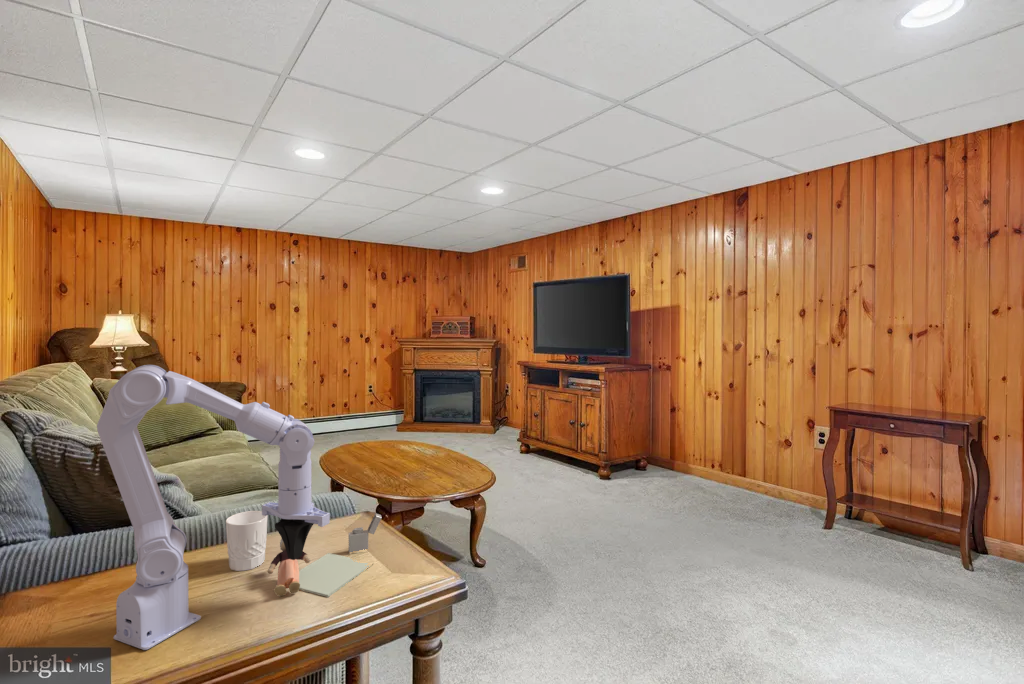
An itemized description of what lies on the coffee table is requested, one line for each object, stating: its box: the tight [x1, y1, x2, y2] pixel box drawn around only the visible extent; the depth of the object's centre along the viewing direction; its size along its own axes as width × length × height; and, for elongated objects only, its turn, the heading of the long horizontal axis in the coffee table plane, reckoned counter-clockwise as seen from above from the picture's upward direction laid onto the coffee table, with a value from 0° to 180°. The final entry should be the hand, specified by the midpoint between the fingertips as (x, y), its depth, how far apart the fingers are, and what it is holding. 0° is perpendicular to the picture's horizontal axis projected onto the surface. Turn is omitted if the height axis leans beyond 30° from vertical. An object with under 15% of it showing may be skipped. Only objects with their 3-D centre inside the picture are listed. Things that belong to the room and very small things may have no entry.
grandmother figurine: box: [267, 538, 311, 597], centre depth 101 cm, size 8×4×13 cm
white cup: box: [225, 510, 269, 572], centre depth 108 cm, size 8×8×10 cm
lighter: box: [348, 513, 382, 553], centre depth 115 cm, size 7×2×8 cm, turn 114°
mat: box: [299, 552, 369, 598], centre depth 104 cm, size 14×12×1 cm
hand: (295, 557), depth 95 cm, fingers closed
